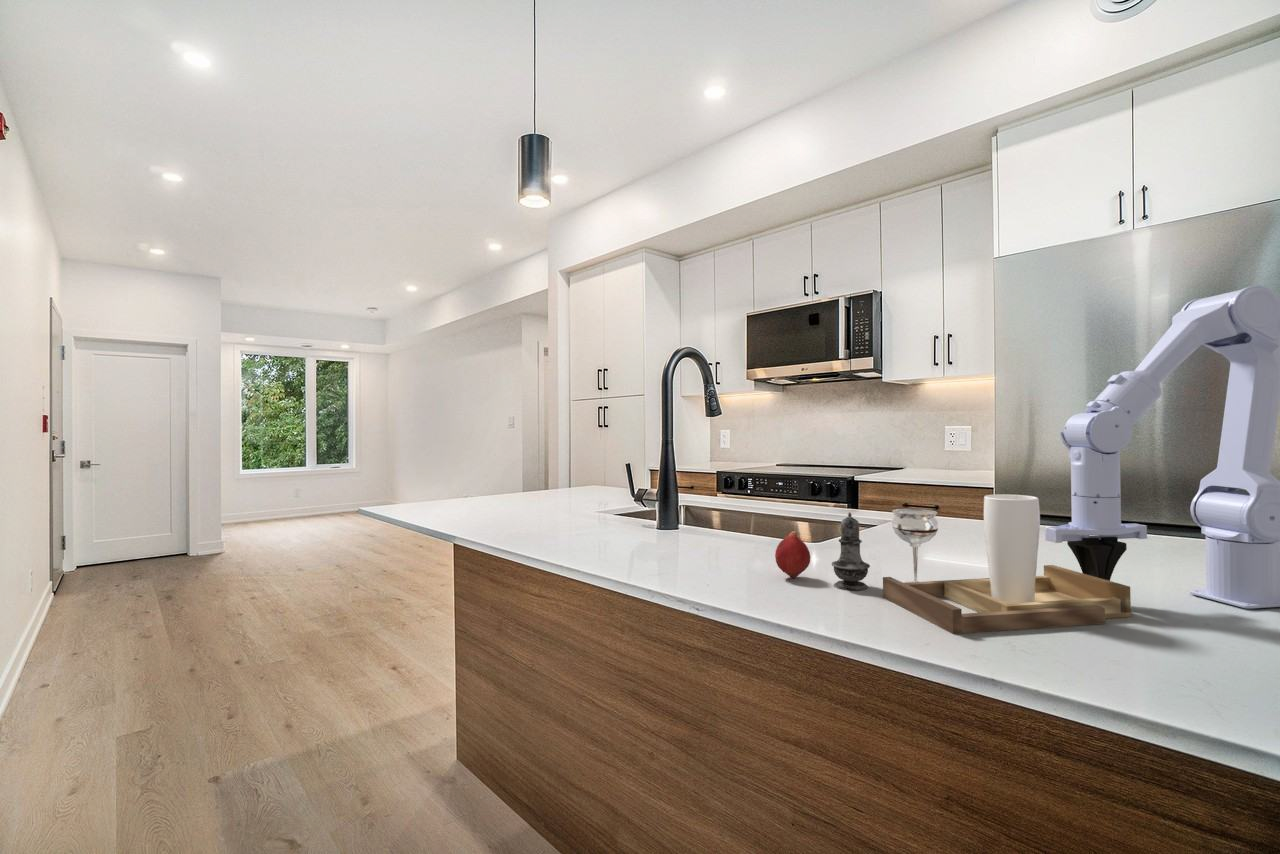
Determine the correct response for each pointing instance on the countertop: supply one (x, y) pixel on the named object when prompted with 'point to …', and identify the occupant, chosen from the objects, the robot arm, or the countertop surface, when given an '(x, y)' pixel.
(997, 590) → the drinking glass
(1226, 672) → the countertop surface
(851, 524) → the salt shaker
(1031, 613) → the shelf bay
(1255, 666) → the countertop surface
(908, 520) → the wineglass
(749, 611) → the countertop surface
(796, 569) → the onion
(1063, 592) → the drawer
